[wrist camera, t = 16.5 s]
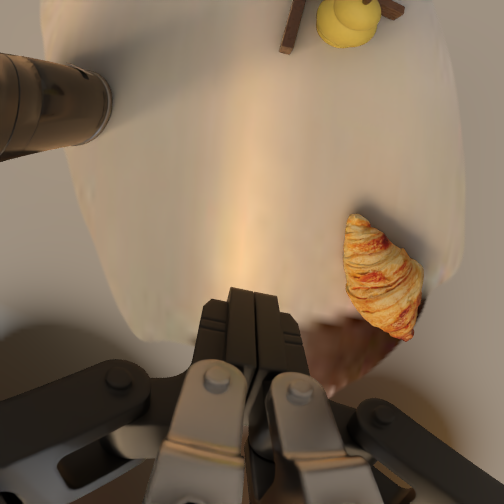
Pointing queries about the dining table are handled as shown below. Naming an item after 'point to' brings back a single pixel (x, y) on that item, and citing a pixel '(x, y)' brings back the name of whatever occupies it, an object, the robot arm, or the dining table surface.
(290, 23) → the corner fence
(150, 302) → the dining table surface
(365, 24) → the pear
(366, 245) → the croissant
